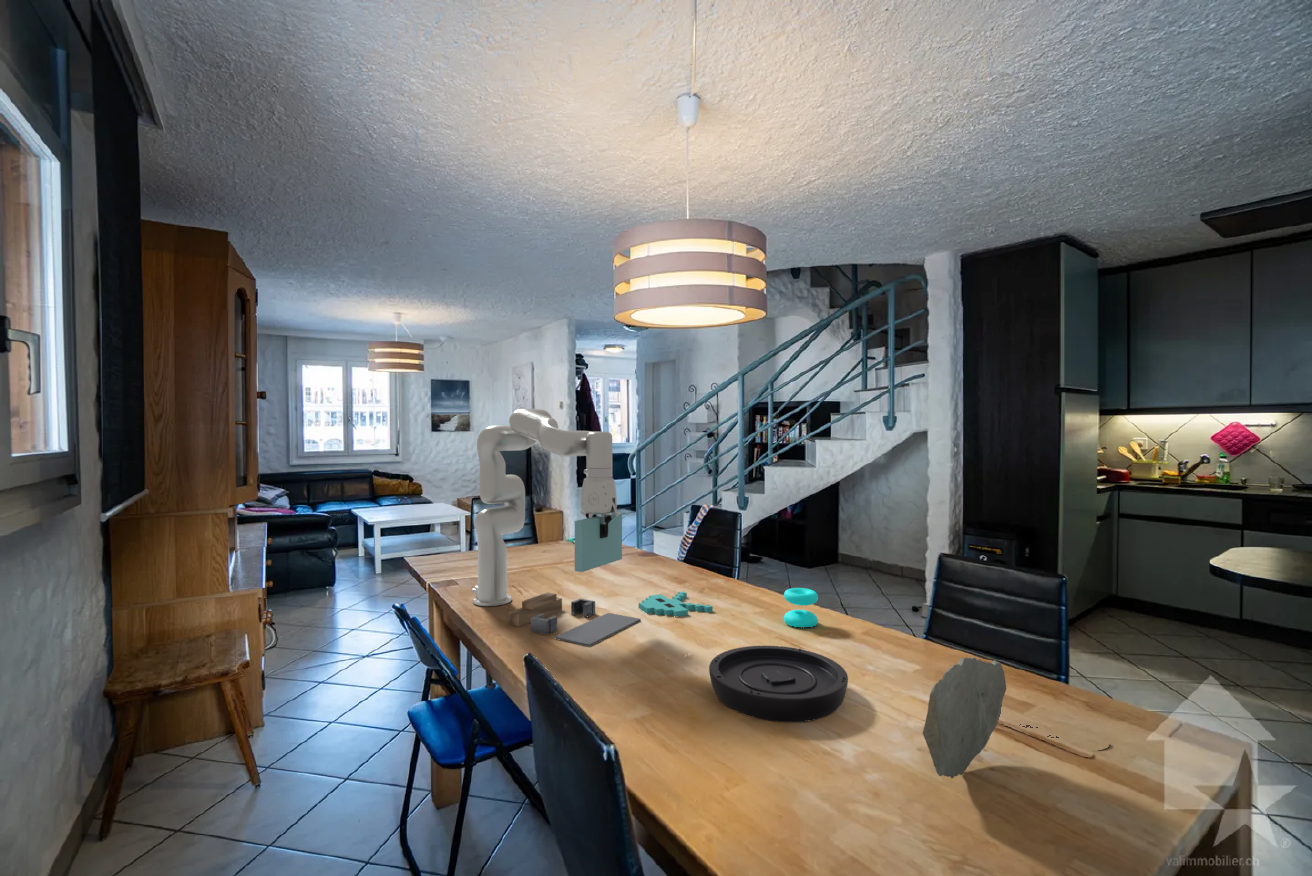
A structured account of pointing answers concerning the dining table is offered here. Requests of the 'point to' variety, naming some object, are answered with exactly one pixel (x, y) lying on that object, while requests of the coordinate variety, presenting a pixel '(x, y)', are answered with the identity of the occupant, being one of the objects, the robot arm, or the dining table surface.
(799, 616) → the donuts
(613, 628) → the rubber mat
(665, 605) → the alien figure
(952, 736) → the rock
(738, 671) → the round tray
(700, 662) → the dining table surface
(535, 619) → the slab rack
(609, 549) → the teal sheet
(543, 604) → the offcut stack
